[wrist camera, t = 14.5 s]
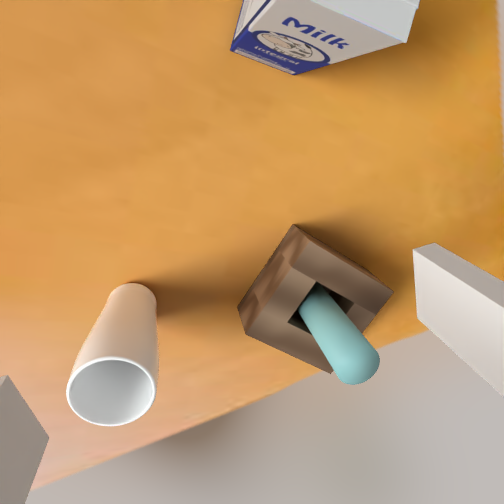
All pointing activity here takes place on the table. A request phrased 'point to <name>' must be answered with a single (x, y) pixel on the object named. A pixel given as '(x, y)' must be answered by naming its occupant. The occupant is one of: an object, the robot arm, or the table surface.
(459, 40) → the table surface
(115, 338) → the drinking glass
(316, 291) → the dowel
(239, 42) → the milk carton
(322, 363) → the bore block
